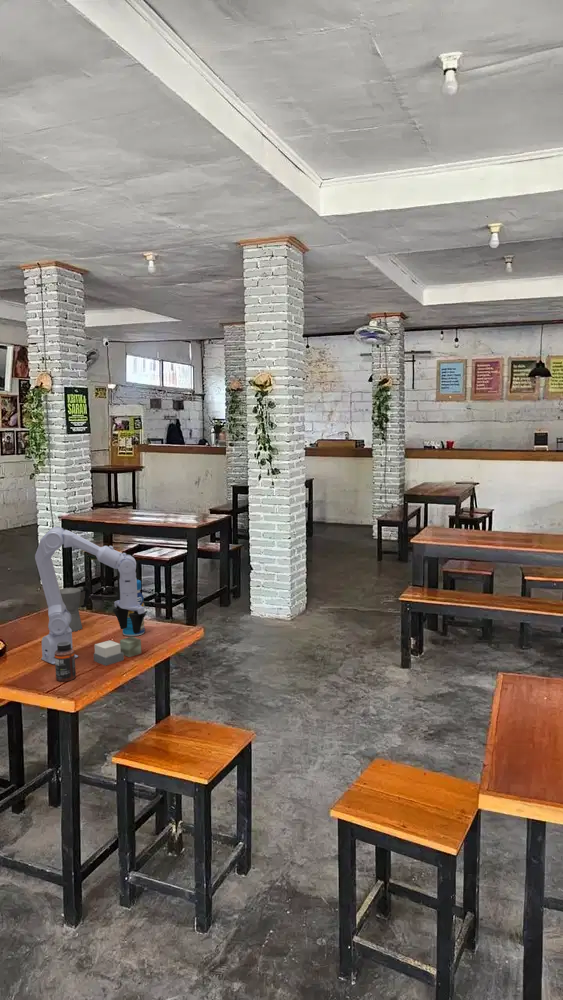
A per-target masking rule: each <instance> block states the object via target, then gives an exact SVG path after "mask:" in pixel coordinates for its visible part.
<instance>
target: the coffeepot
mask: <svg viewBox="0 0 563 1000" xmlns="http://www.w3.org/2000/svg"><path fill="white" fill-rule="evenodd" d="M65 585H66V587H65V588H60V593H61V596H62V600H63V603H64V604H65V606H66V609H67V611H68V612H69V613H70V614H71V622H70V624H69V627H70V628H71V629H72V633H74V631H75V632H78V630H79V631H81V630H82V629H83V625H82V621H81V615H80V611H79V608H80V607H81V608H86V607H87V605H88V601H89V597H90V594H91V589H90V588H89V587H88V586H87V585H84V586H79V587H71V583H70V582H67V583H65ZM83 592H85V594H84V599H83V604H82V605H80V603H81V593H83ZM80 629H81V630H80Z"/></svg>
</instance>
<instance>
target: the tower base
mask: <svg viewBox="0 0 563 1000" xmlns="http://www.w3.org/2000/svg"><path fill="white" fill-rule="evenodd" d="M124 656H125V655H124V653H123V652H121V653H118V654H115V655H111V656H108V657H103V656H101V655H98V654H96V653H95V652H94V653H93V662H95V663H98V664H100V665H101V666H102V665H103V666H104V667H107V666H110V665H113V664H116V663H118V662H122V661H124V658H125V657H124Z"/></svg>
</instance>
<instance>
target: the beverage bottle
mask: <svg viewBox="0 0 563 1000" xmlns="http://www.w3.org/2000/svg"><path fill="white" fill-rule="evenodd" d="M141 590H142V581H141V580H139V579H137V602H140V605H141V606H142V607H144V608H145V603H144V600H145V599H144V595H143V594H142V592H141ZM131 613H134V611H130V610H129V612H128V617H127V628H124V629H122V635H124V636H125V637H138V636H141V635H143V634H144V633H146V632H145V631H146V628H145V618H144V619H143V621H142V624H141V629H140V632H139V633H136V634H134V632H133V627H132V621H131V619H130V616H129V614H131Z"/></svg>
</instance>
